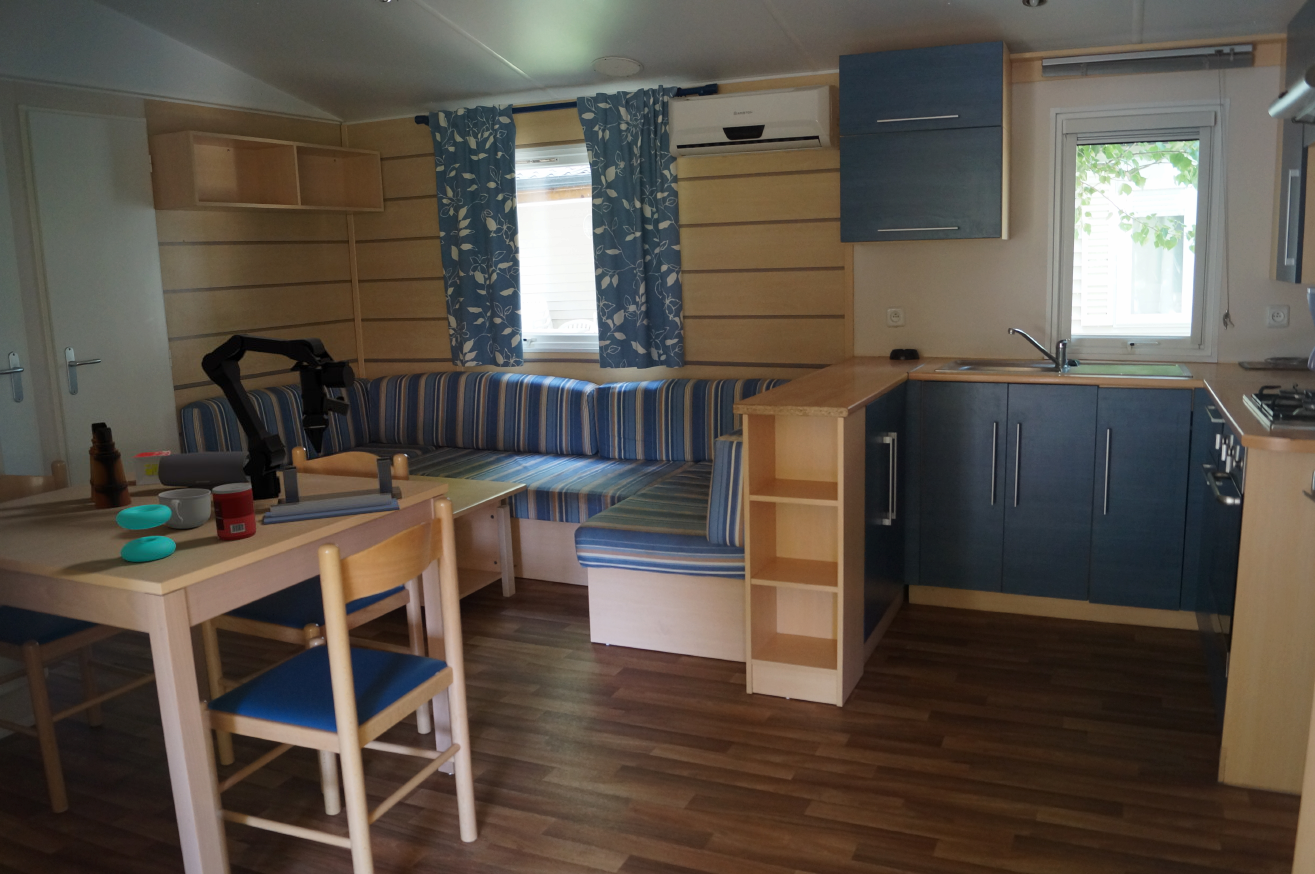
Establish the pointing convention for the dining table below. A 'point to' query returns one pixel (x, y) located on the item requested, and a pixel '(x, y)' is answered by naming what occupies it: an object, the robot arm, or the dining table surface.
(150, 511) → the donuts
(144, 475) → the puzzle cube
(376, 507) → the mat
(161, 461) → the bluetooth speaker
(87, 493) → the dining table surface
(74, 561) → the dining table surface
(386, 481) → the stand
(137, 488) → the dining table surface
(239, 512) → the canned food
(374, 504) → the rail
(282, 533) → the dining table surface
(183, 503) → the teacup
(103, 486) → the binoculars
